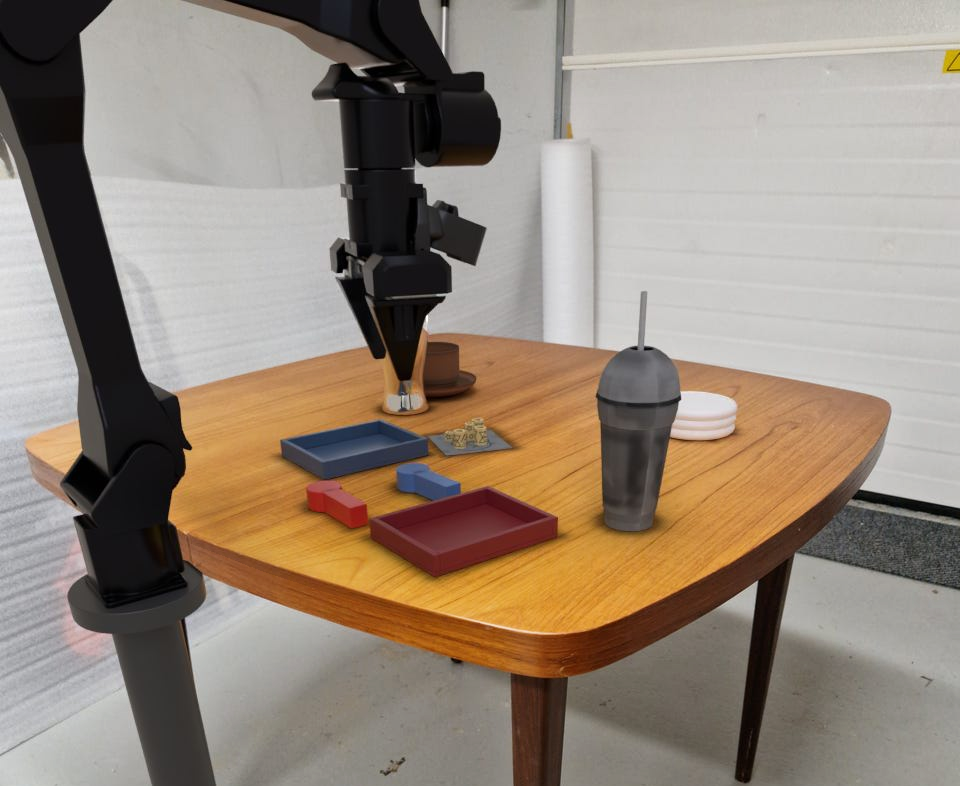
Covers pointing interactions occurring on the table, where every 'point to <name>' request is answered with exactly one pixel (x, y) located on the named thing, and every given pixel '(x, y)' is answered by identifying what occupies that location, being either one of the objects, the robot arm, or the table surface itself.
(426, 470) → the blue spoon
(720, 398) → the white stacked discs
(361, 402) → the table surface
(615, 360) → the beverage cup
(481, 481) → the table surface
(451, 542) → the red tray
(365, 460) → the blue tray
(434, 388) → the cup and saucer
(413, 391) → the beer glass
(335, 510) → the red spoon
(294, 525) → the table surface
